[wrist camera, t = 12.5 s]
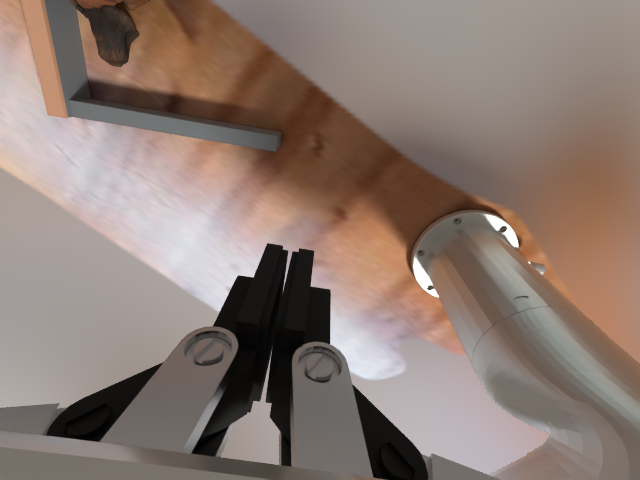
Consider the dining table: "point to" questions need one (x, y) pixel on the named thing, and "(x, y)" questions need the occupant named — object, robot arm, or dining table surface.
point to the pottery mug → (110, 27)
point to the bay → (75, 101)
